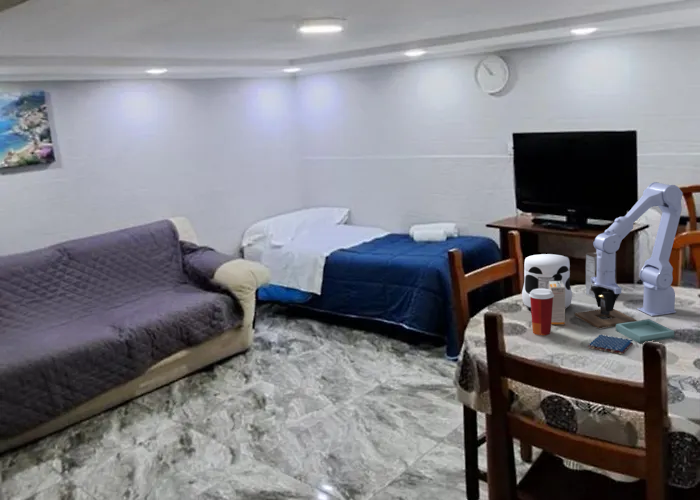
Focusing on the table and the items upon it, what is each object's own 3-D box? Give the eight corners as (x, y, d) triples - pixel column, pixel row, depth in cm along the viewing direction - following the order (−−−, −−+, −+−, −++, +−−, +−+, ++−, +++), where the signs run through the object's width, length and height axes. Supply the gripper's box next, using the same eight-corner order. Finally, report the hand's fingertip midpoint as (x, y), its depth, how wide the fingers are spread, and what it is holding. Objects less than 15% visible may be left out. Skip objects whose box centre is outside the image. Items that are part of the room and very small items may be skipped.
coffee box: (606, 290, 250) (607, 250, 246) (616, 295, 244) (617, 253, 240) (584, 293, 248) (585, 252, 244) (594, 298, 242) (595, 256, 238)
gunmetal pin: (607, 310, 222) (607, 292, 221) (614, 314, 218) (615, 295, 217) (595, 312, 221) (595, 293, 220) (603, 316, 217) (603, 297, 216)
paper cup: (554, 328, 215) (554, 288, 211) (553, 337, 208) (553, 295, 204) (529, 327, 217) (529, 287, 214) (528, 336, 210) (527, 294, 207)
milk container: (551, 297, 247) (551, 251, 243) (582, 309, 231) (583, 260, 227) (512, 304, 241) (511, 257, 237) (541, 318, 225) (541, 268, 221)
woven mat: (598, 339, 205) (598, 333, 205) (633, 345, 198) (633, 339, 198) (586, 350, 197) (586, 343, 197) (622, 357, 191) (622, 350, 190)
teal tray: (648, 325, 212) (648, 318, 211) (674, 337, 200) (674, 331, 200) (615, 330, 210) (615, 324, 209) (639, 343, 198) (639, 336, 198)
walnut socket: (611, 310, 228) (611, 307, 228) (636, 322, 215) (636, 319, 215) (574, 315, 225) (574, 312, 225) (598, 328, 212) (598, 325, 212)
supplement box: (565, 324, 218) (565, 287, 215) (550, 324, 219) (550, 287, 216) (562, 316, 225) (562, 280, 222) (548, 316, 226) (548, 280, 223)
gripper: (582, 266, 222) (582, 304, 225) (608, 276, 209) (607, 316, 212) (601, 263, 224) (600, 301, 227) (627, 273, 210) (626, 313, 213)
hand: (605, 308), depth 219 cm, fingers closed on gunmetal pin, 4 cm apart
